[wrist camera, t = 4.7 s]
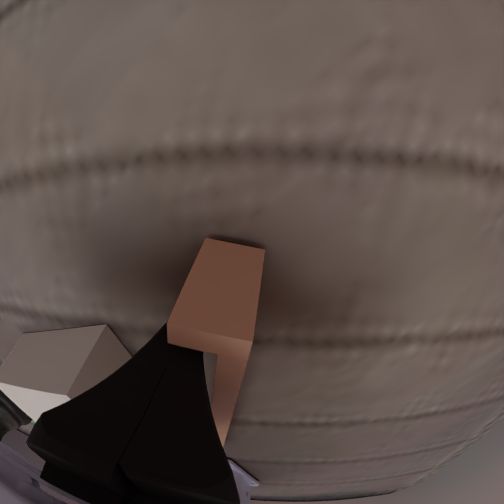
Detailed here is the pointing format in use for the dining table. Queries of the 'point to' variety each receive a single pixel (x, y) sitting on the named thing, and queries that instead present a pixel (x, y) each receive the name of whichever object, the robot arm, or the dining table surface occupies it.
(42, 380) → the camera case
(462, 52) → the dining table surface
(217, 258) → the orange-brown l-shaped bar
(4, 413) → the dark green fedora
